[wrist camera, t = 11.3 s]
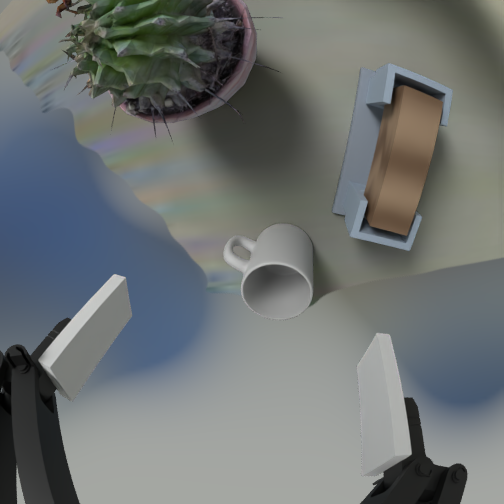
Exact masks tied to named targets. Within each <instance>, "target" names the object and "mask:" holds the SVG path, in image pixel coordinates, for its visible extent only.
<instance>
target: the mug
mask: <svg viewBox="0 0 504 504" xmlns="http://www.w3.org/2000/svg"><path fill="white" fill-rule="evenodd" d="M234 246H241V247H243V248H245V249H247V250H249V251H250V252H251V257H250V260H247V259H243V258H241V257H239V256H237V255H236V254H235V253H234V252H233V250H232V249H233V247H234ZM224 260H225V261H226V263H227V264H229V265H230V266H231V267H233V268H235V269H236V270H238V271H240V272H242V273H243V279H242V283H241V293H242V297H243V300H244V302H245V303H246V305H247V306H248V307H249V308H250V309H251V310H252V311H253V312H255V313H256V314H258V315H260V316H262V317H264V318H267V319H272V320H287V319H291V318H293V317H296V316H298V315H300V314H301V313H303V312H304V311H305V310H306V309H307V308H308V306H309V305H310V303H311V301H312V297H313V246H312V242H311V240H310V238H309V236H308V235H307V234H306V233H305V232H304V231H303V230H302V229H301V228H299V227H297V226H295V225H292V224H287V223H279V224H274V225H271V226H269V227H268V228H266V229H265V230H264V231H262V232H261V234H260V235H259V237H258V238H257V241H254V240H252V239H250V238H248V237H245V236H241V235H236V236H234V237H232V238H231V239H230V240H229V241H228V242H227V244H226V246H225V248H224Z"/></svg>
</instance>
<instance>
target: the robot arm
mask: <svg viewBox="0 0 504 504" xmlns="http://www.w3.org/2000/svg"><path fill="white" fill-rule="evenodd" d="M131 316H132V312H131V306H130V301H129V295H128V290H127V283H126V278H125V277H122V276H119V275H116V274H114V275H113V276H112V277H111V278H110V279H109V280H108V281H107V282H106V283H105V284H104V285H103V286H102V287H101V288H100V290H99V291H98V292H97V293H96V294H95V295H94V296H93V297H92V298H91V299H90V300H89V301H88V302H87V303H86V304H85V306H84V307H83V308H82V309H81V310H80V311H79V312H78V313H77V314H76V316H75V317H74V318H73V319H72V320H71V319H69V318H66V319H64V320H62V321H61V322H59V323H58V324H57V325H56V326H55V328H54V329H53V331H51V332H50V333H49V334H48V336H47V337H46V338H45V339H44V340H43V341H42V342H41V344H40V345H39V346H38V347H37V348H36V350H35V351H34V352H33V353H32V355H29V354H28V352H27V350H26V349H25V347H24V346H22V345H13V346H11V347H10V348H8V350H7V351H6V352H5V356H4V355H3V353H2V352H1V351H0V392H1V388H3V389H2V392H1V393H0V504H17V491H16V468H18V473H19V478H20V483H21V487H22V492H23V496H24V499H25V503H26V504H80V503H79V500H78V497H77V494H76V491H75V488H74V485H73V482H72V479H71V474H70V471H69V467H68V463H67V459H66V455H65V451H64V446H63V441H62V436H61V430H60V425H59V418H58V412H57V404H56V397H55V393H54V392H55V390H56V389H57V390H58V391H59V393H60V394H61V395H62V396H63V397H65V398H67V399H68V400H70V401H72V402H73V401H74V399H75V398H76V396H77V395H78V393H79V391H80V390H81V388H82V387H83V385H84V384H85V382H86V381H87V379H88V378H89V376H90V375H91V373H92V372H93V370H94V369H95V367H96V366H97V364H98V363H99V361H100V360H101V359H102V357H103V356H104V354H105V353H106V351H107V350H108V348H109V347H110V346H111V344H112V343H113V341H114V340H115V338H116V337H117V336H118V334H119V333H120V331H121V330H122V329H123V327H124V326H125V324H126V323H127V322H128V320H129V319H130V318H131ZM357 375H358V387H359V400H360V417H361V443H362V445H361V446H362V476H377V475H379V474H381V473H382V472H384V477H383V478H381V479H379V480H377V481H376V482H374V483H373V485H376V484H377V485H376V486H375V487H374V489H373V490H372V491H371V492H370V493H369V494H368V495H367V497H366V498H365V499H364V500H363V501H362V502H361V503H360V504H460V502H461V499H462V495H463V492H464V488H465V484H466V481H467V470H466V468H465V467H464V466H463V465H462V464H454V465H452V466H451V467H449V468H448V467H443V466H438V465H435V464H433V462H432V461H431V459H430V458H428V457H426V454H425V449H424V442H423V435H422V429H421V426H420V424H421V422H420V418H419V411H418V407H417V405H416V403H415V401H414V400H413V398H404V396H403V391H402V386H401V381H400V376H399V371H398V367H397V362H396V358H395V354H394V349H393V345H392V341H391V337H390V335H389V334H382V333H376V335H375V337H374V339H373V340H372V342H371V344H370V345H369V347H368V349H367V350H366V352H365V354H364V355H363V357H362V359H361V360H360V362H359V364H358V365H357ZM16 466H17V467H16Z"/></svg>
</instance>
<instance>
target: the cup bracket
mask: <svg viewBox="0 0 504 504" xmlns="http://www.w3.org/2000/svg"><path fill="white" fill-rule="evenodd" d="M403 85H405V86H408V87H410V88H413V89H415V90H418V91H420V92H423V93H425V94H427V95H429V96H432V97H434V98H436V99H438V100H440V101H442V102H443V107H442V113H441V118H440V123H439V125H441V126H447V123H448V118H449V112H450V106H451V99H452V92H453V90H452V89H450V88H448V87H446V86H444V85H441V84H439V83H437V82H435V81H433V80H431V79H428V78H426V77H424V76H421V75H419V74H417V73H414V72H412V71H409V70H406V69H404V68H401V67H398V66H396V65H393V64H390V63H388V64H386V65H384V66H382V67H381V68H379V69H377V70H376V71H373V70H369V69H366V68H363V67H362V68H360V74H359V81H358V87H357V93H356V99H355V105H354V111H353V116H352V121H351V127H350V132H349V137H348V142H347V146H346V151H345V156H344V161H343V165H342V169H341V174H340V178H339V183H338V187H337V191H336V195H335V199H334V203H333V207H332V213H337V214H341V215H345V219H344V220H345V223H346V226H347V229H348V232H349V235H350V237H353V238H358V239H362V240H366V241H370V242H375V243H379V244H383V245H387V246H391V247H395V248H399V249H403V250H407V251H410V249H411V246H412V244H413V241H414V238H415V236H416V233H417V230H418V228H419V225H420V222H421V219H422V216H421V215H420V214H419V213H418V212H417V211H416V212H415V215H414V217H413V220H412V223H411V226H410V229H409V231H408V234H407V236H406V235H402V234H398V233H395V232H391V231H387V230H383V229H380V228H376V227H372V226H370V225H369V223H368V221H367V219H366V217H365V215H364V213H365V210H366V206H367V203H368V201H367V199H366V198H365V196H364V191H365V188H366V184H367V180H368V176H369V173H370V169H371V165H372V161H373V157H374V152H375V148H376V144H377V139H378V135H379V130H380V126H381V121H382V116H383V111H384V105H385V104H390V103H391V97H392V91H393V88H395V87H399V86H403Z"/></svg>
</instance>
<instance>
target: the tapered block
mask: <svg viewBox="0 0 504 504" xmlns="http://www.w3.org/2000/svg"><path fill="white" fill-rule="evenodd" d="M442 107H443V102H442V101H440V100H438V99H436V98H434V97H432V96H429V95H427V94H425V93H423V92H420V91H418V90H415V89H413V88H410V87H408V86H405V85H403V86H399V87H395V88H393V91H392V97H391V103H390V104H385V105H384V111H383V116H382V121H381V126H380V130H379V135H378V139H377V144H376V148H375V152H374V157H373V161H372V165H371V169H370V173H369V176H368V180H367V184H366V188H365V191H364V196H365V198H366V199H367V201H368V203H367V206H366V210H365V213H364V215H365V217H366V219H367V221H368V223H369V225H370V226H372V227H376V228H380V229H383V230H387V231H391V232H395V233H398V234H402V235H406V236H407V234H408V231H409V229H410V226H411V223H412V220H413V217H414V215H415V212H416V209H417V206H418V203H419V200H420V197H421V193H422V190H423V187H424V184H425V180H426V177H427V173H428V170H429V166H430V162H431V158H432V154H433V150H434V146H435V142H436V138H437V133H438V128H439V123H440V118H441V113H442Z"/></svg>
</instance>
